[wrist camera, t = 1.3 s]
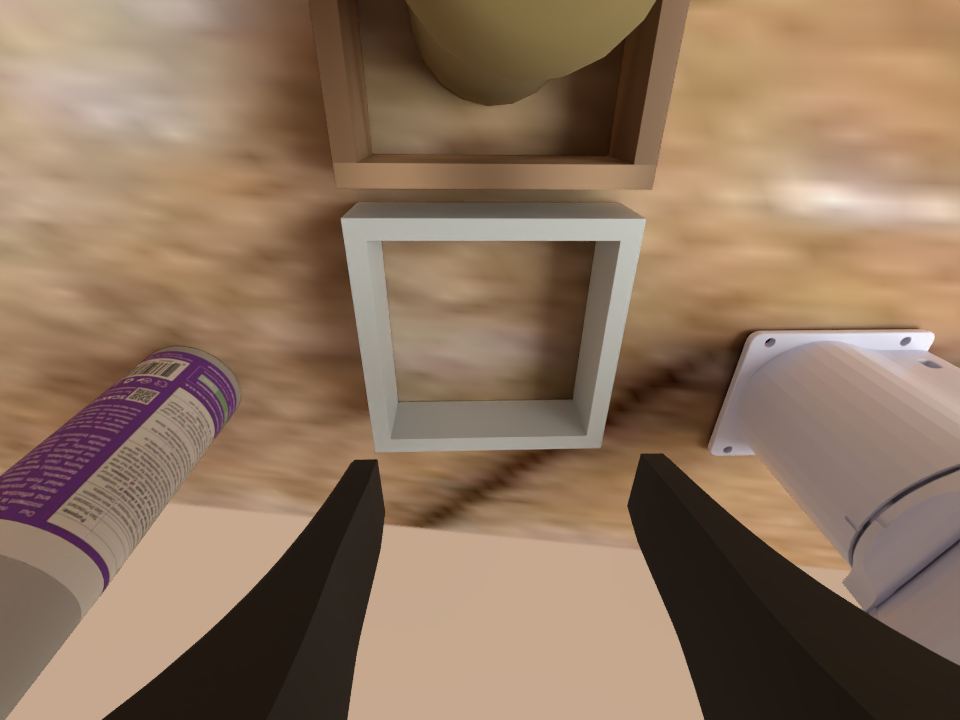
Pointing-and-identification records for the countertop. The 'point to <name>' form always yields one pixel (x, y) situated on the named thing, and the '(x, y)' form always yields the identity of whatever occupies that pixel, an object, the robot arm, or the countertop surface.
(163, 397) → the container
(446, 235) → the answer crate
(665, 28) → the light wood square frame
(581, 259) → the countertop surface
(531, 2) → the olive rounded piece
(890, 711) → the robot arm
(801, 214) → the countertop surface
